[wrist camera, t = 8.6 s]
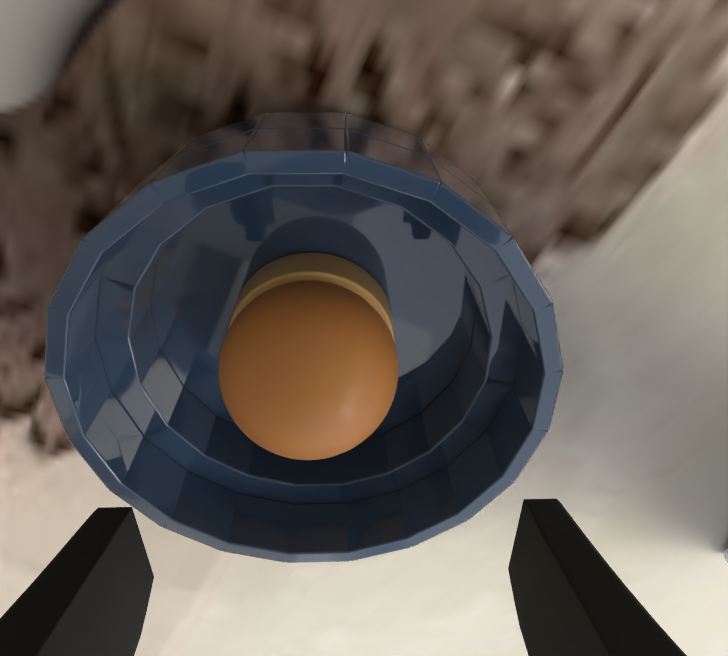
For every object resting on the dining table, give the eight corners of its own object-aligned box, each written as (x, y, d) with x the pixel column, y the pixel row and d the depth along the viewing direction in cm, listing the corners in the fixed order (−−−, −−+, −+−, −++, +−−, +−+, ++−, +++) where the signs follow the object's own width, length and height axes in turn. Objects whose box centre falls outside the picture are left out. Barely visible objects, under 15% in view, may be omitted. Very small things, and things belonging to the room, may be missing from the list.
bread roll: (389, 384, 19) (402, 497, 15) (244, 386, 19) (215, 501, 15) (394, 250, 17) (412, 341, 12) (225, 251, 16) (184, 344, 12)
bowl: (488, 457, 22) (518, 558, 18) (154, 463, 21) (113, 567, 18) (548, 108, 15) (617, 150, 11) (60, 107, 15) (-41, 150, 11)
